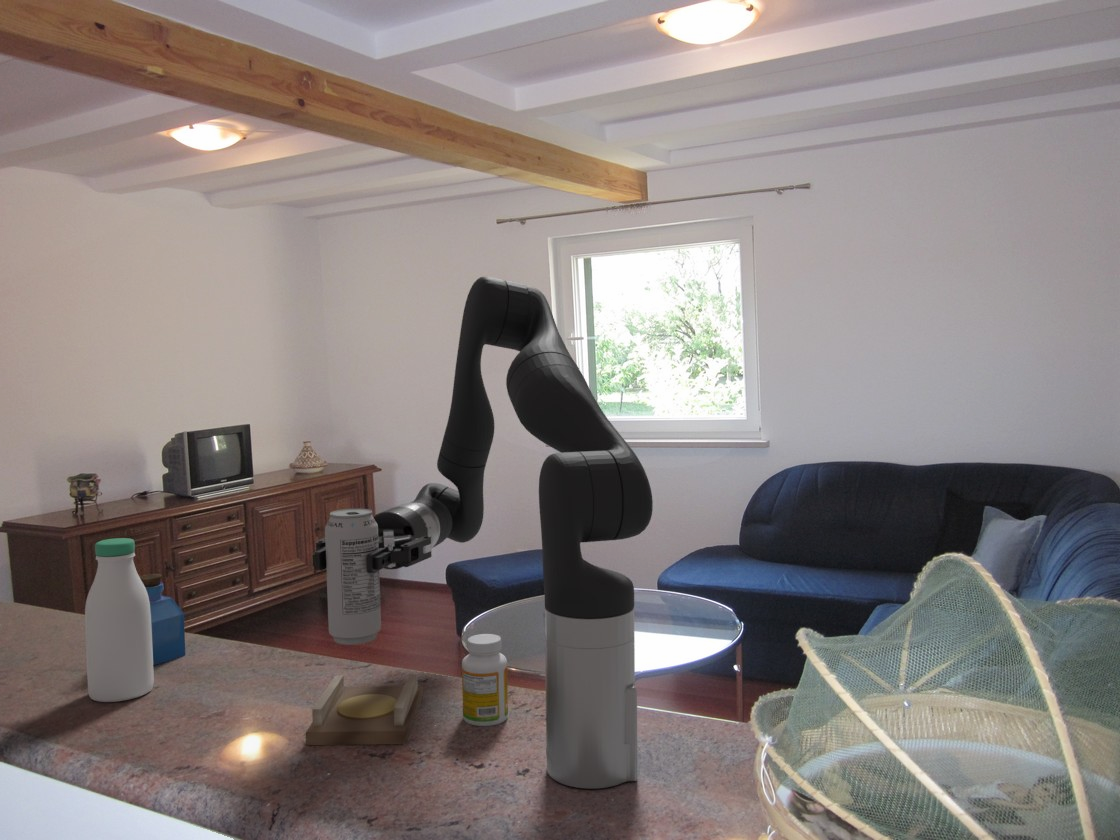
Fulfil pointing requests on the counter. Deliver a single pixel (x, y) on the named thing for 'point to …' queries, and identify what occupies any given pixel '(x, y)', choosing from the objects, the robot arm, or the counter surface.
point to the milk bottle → (118, 626)
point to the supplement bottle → (484, 681)
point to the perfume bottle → (164, 622)
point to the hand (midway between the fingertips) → (343, 563)
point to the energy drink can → (352, 577)
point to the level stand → (364, 713)
